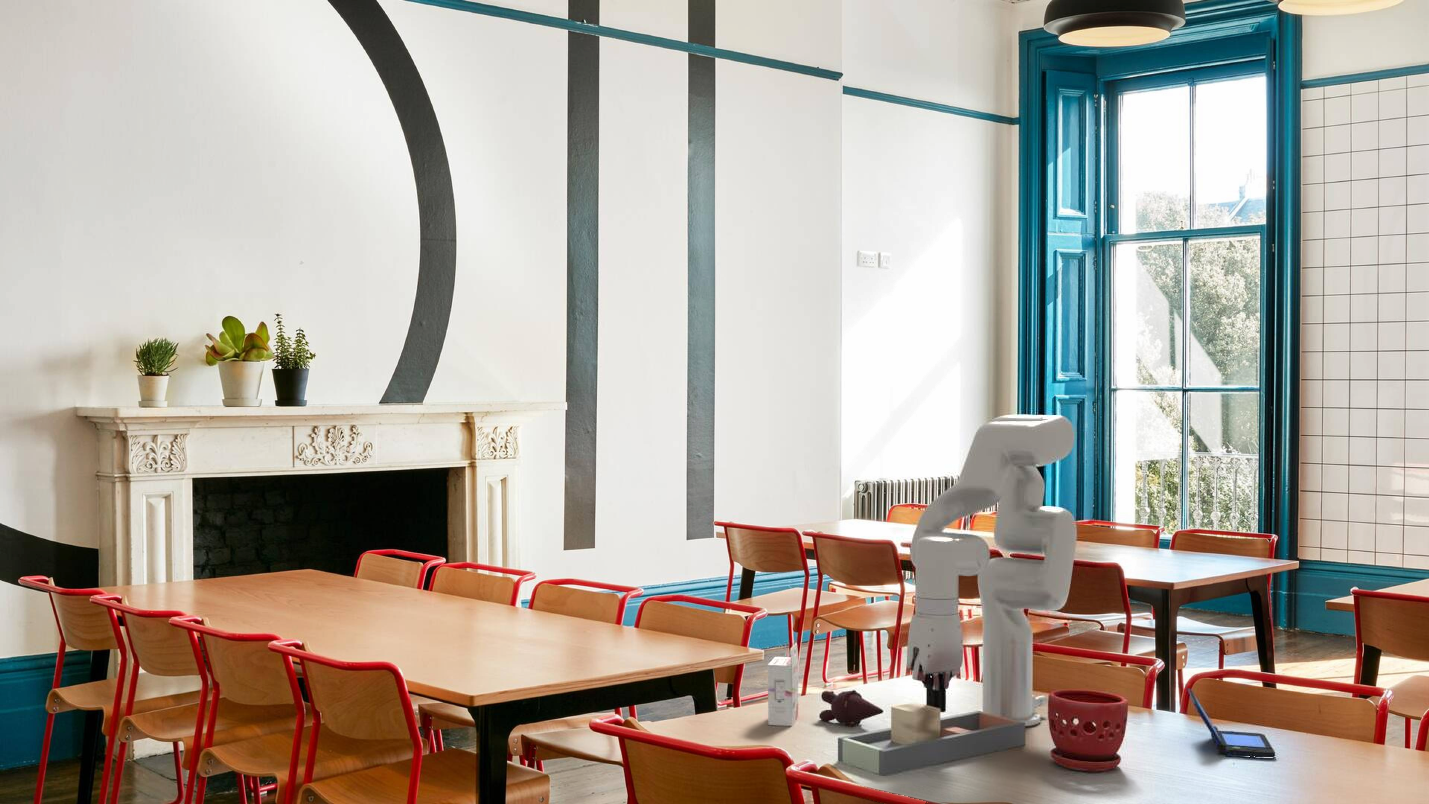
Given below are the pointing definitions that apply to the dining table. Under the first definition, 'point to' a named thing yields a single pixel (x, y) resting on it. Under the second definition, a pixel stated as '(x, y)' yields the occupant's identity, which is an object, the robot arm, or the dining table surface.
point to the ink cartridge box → (783, 689)
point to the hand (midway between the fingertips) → (936, 710)
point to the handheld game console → (1235, 738)
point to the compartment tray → (932, 744)
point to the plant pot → (1087, 728)
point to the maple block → (914, 723)
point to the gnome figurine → (848, 708)
